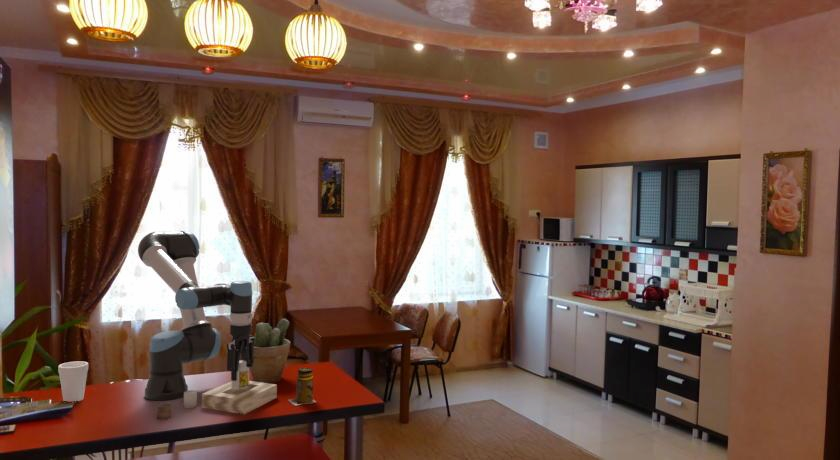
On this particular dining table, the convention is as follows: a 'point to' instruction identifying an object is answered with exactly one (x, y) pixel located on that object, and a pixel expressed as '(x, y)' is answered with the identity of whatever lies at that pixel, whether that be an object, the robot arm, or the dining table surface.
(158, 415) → the walnut dowel short
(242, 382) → the supplement bottle
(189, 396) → the pale grey block
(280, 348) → the potted plant
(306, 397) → the condiment
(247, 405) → the board
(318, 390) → the dining table surface
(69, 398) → the foam cup
